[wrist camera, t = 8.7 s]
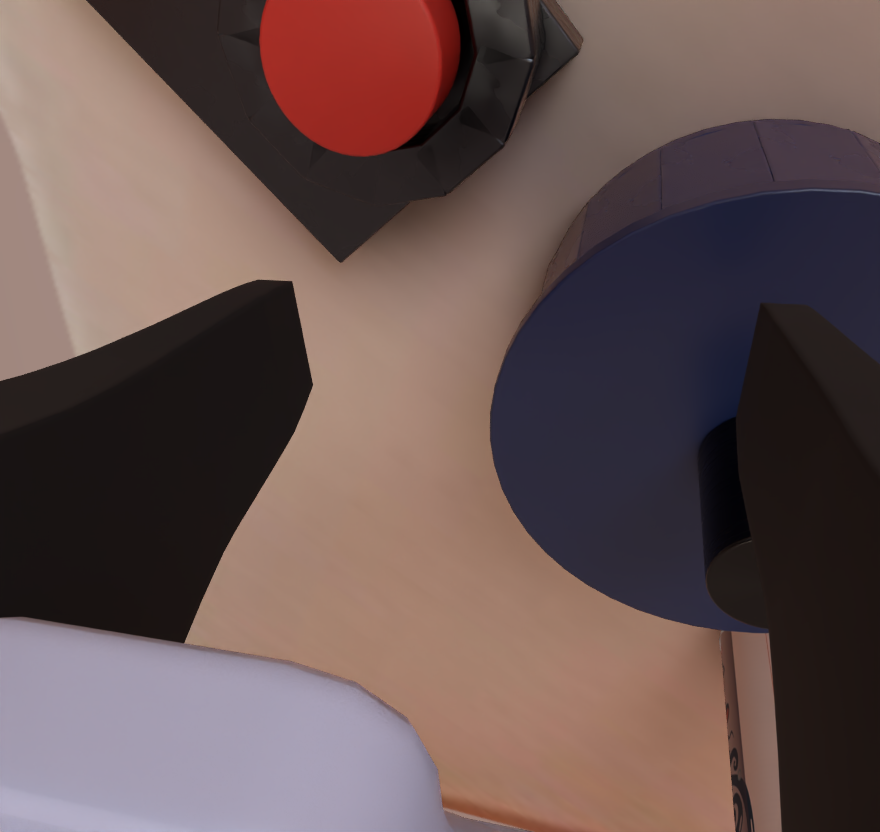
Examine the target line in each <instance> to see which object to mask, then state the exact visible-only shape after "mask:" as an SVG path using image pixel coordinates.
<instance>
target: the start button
mask: <svg viewBox="0 0 880 832" xmlns="http://www.w3.org/2000/svg"><path fill="white" fill-rule="evenodd" d="M259 41H260V55H261V61H262V67H263V70H264V74H265V78H266V81H267V83H268V86H269V88H270V91H271V93H272V95H273V97H274V99H275V100H276V102H277V104H278V106H279V107H280V109H281V110H282V112H283V113H284V114H285V116H286V117H287V118H288V119H289V121H290V122H291V123H292V124H293V125H294V126H295V127H296V128H297V129H298V130H299V131H300V132H301V133H303V134H304V135H305V136H306V137H308V138H309V139H310V140H312V141H313V142H315V143H317V144H318V145H320V146H322V147H324V148H326V149H329V150H331V151H334V152H337V153H340V154H344V155H349V156H360V157H367V156H376V155H380V154H384V153H387V152H390V151H392V150H395V149H397V148H399V147H400V146H402V145H404V144H405V143H407V142H408V141H409V140H410V139H412V138H413V137H414V136H415V135H416V134H417V133H418V132H419V131H420V130H421V128H422V127H423V126H424V125H425V124H426V123H427V121H428V120H429V119H430V118H431V117H432V116H433V114H434V113H435V112H436V111H437V110H438V109H439V107H440V106H441V105H442V103H443V102H444V100H445V99H446V98H447V96H448V94H449V92H450V90H451V88H452V86H453V83H454V81H455V78H456V75H457V71H458V66H459V61H460V51H461V48H460V31H459V24H458V20H457V16H456V12H455V9H454V6H453V4H452V1H451V0H266V3H265V7H264V10H263V13H262V19H261V25H260V39H259Z"/></svg>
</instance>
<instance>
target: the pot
mask: <svg viewBox="0 0 880 832" xmlns="http://www.w3.org/2000/svg"><path fill="white" fill-rule="evenodd" d="M803 179H819V180H844V181H859V182H865V183H872V184H878V185H880V143H878V142H876V141H874V140H872V139H870V138H867V137H865V136H863V135H861V134H859V133H856V132H854V131H850V130H849V129H842V128H839V127H836V126H833V125H829V124H822V123H816V122H809V121H803V120H783V119H764V120H754V121H744V122H735V123H731V124H726V125H722V126H717V127H713V128H709V129H704V130H702V131H699V132H696V133H693V134H690V135H688V136H685V137H682V138H679V139H676V140H674V141H672V142H670V143H668V144H666V145H664V146H662V147H660V148H658V149H656V150H654V151H652V152H650V153H648V154H646V155H645V156H643V157H642V158H640V159H639V160H637V161H636V162H634V163H633V164H631V165H630V166H628V167H627V168H625V169H624V170H622V171H621V172H620V173H619V174H618V175H616V176H615V177H614V178H613V179H612V180H611V181H609V182H608V183H607V184H606V185H605V186H603V187H602V188H601V189H600V190H599V192H598V193H597V194H596V195H595V196H594V197H593V198H591V199H590V201H589V202H588V203H587V204H586V206H585V207H584V208H583V209H582V211H581V212H580V214H579V215H578V216H577V218H576V219H575V221H574V222H573V224H572V225H571V226H570V228H569V229H568V231H567V233H566V235H565V237H564V239H563V241H562V243H561V245H560V247H559V249H558V251H557V253H556V254H555V256H554V258H553V259H552V261H551V263H550V264H549V268H548V270H547V274H546V278H545V282H544V286H543V290H542V293H543V292H544V291H545V290H546V289H547V288H548V287H549V286H550V285H551V284H552V283H553V282H554V281H555V280H556V278H557V277H558V276H559V275H560V274H561V273H562V272H563V271H564V270H565V269H566V268H568V267H569V266H570V265H571V264H573V263H574V262H575V261H576V260H578V259H579V258H580V257H581V256H583V255H584V254H585V253H586V252H588V251H589V250H590V249H591V248H593V247H594V246H595V245H597V244H598V243H600V242H602V241H603V240H605V239H607V238H608V237H610V236H612V235H613V234H615V233H617V232H618V231H620V230H621V229H623V228H625V227H626V226H628V225H630V224H632V223H634V222H636V221H638V220H640V219H643V218H645V217H647V216H649V215H651V214H654V213H656V212H658V211H660V210H662V209H665V208H667V207H669V206H672V205H675V204H678V203H681V202H684V201H687V200H690V199H694V198H697V197H700V196H703V195H706V194H709V193H712V192H716V191H722V190H727V189H732V188H737V187H742V186H747V185H752V184H757V183H765V182H778V181H790V180H803ZM542 293H541V294H542Z"/></svg>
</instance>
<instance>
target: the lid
mask: <svg viewBox="0 0 880 832" xmlns="http://www.w3.org/2000/svg"><path fill="white" fill-rule="evenodd" d="M760 303H779V304H801V305H808V306H809V307H811V308H812V309H814V310H815V311H816V312H818V313H819V314H820V315H821V316H823V317H824V318H825V319H826V320H828V321H829V322H830V323H831V324H832V325H834V326H835V327H836V328H837V329H838V330H839V331H841V332H842V333H843V334H844V335H845V336H846V337H848V338H849V339H850V340H851V341H852V342H854V343H855V344H856V345H857V346H858V347H860V348H861V349H862V350H863V351H864V352H866V353H867V354H868V355H869V356H870V357H872V358H873V359H874V360H875V361H877V362H878V363H879V364H880V185H878V184H872V183H865V182H859V181H844V180H819V179H803V180H790V181H778V182H765V183H757V184H752V185H747V186H742V187H737V188H732V189H727V190H722V191H716V192H712V193H709V194H706V195H703V196H700V197H697V198H694V199H690V200H687V201H684V202H681V203H678V204H675V205H672V206H669V207H667V208H665V209H662V210H660V211H658V212H656V213H654V214H651V215H649V216H647V217H645V218H643V219H640V220H638V221H636V222H634V223H632V224H630V225H628V226H626V227H625V228H623V229H621V230H620V231H618V232H617V233H615V234H613V235H612V236H610V237H608V238H607V239H605V240H603V241H602V242H600V243H598V244H597V245H595V246H594V247H593V248H591V249H590V250H589V251H588V252H586V253H585V254H584V255H583V256H581V257H580V258H579V259H578V260H576V261H575V262H574V263H573V264H571V265H570V266H569V267H568V268H566V269H565V270H564V271H563V272H562V273H561V274H560V275H559V276H558V277H557V278H556V280H555V281H554V282H553V283H552V284H551V285H550V286H549V287H548V288H547V289H546V290H545V291H544V292H543V293H542V294H541V295H540V297H539V298H538V299H537V301H536V302H535V303H534V305H533V306H532V308H531V309H530V310H529V312H528V313H527V314H526V316H525V317H524V319H523V320H522V321H521V323H520V325H519V327H518V329H517V331H516V333H515V335H514V336H513V338H512V340H511V342H510V344H509V346H508V348H507V350H506V353H505V356H504V359H503V362H502V365H501V368H500V371H499V374H498V377H497V380H496V383H495V387H494V393H493V399H492V405H491V411H490V442H491V448H492V455H493V461H494V466H495V469H496V472H497V475H498V478H499V481H500V484H501V487H502V490H503V492H504V494H505V496H506V498H507V500H508V502H509V504H510V506H511V508H512V510H513V512H514V513H515V515H516V516H517V518H518V519H519V521H520V522H521V524H522V525H523V526H524V528H525V529H526V531H527V532H528V534H529V535H530V536H531V537H532V538H533V539H534V540H535V541H536V542H537V544H538V545H539V546H540V547H541V548H542V549H543V550H544V551H545V552H546V553H547V554H548V555H549V556H550V557H551V558H553V559H554V560H555V561H556V562H557V563H558V564H559V565H561V566H562V567H563V568H564V569H565V570H567V571H568V572H569V573H571V574H572V575H574V576H575V577H577V578H578V579H580V580H581V581H582V582H584V583H585V584H587V585H588V586H590V587H592V588H594V589H596V590H597V591H599V592H601V593H603V594H605V595H606V596H608V597H610V598H612V599H614V600H617V601H619V602H621V603H623V604H626V605H628V606H630V607H633V608H635V609H637V610H640V611H643V612H646V613H649V614H652V615H655V616H658V617H661V618H664V619H668V620H672V621H676V622H680V623H684V624H688V625H692V626H697V627H704V628H710V629H716V630H723V631H733V632H746V633H769V629H768V621H767V615H766V608H765V602H764V596H763V591H762V586H761V581H760V576H759V572H758V567H757V562H756V557H755V552H754V548H753V543H752V538H751V533H750V528H749V523H748V519H747V514H746V509H745V504H744V499H743V494H742V489H741V483H740V478H739V472H738V455H737V434H736V415H737V410H738V406H739V401H740V396H741V392H742V387H743V382H744V378H745V373H746V368H747V364H748V359H749V354H750V350H751V345H752V341H753V336H754V331H755V327H756V322H757V317H758V313H759V308H760Z"/></svg>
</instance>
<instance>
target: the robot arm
mask: <svg viewBox="0 0 880 832" xmlns="http://www.w3.org/2000/svg"><path fill="white" fill-rule="evenodd" d="M312 386H313V383H312V378H311V373H310V368H309V363H308V358H307V353H306V348H305V343H304V338H303V333H302V328H301V323H300V318H299V313H298V308H297V303H296V298H295V293H294V288H293V283H292V281H274V280H256V281H252V282H249V283H246V284H243V285H240V286H238V287H235V288H232V289H230V290H228V291H225V292H223V293H221V294H219V295H216V296H214V297H212V298H210V299H208V300H205V301H203V302H201V303H199V304H197V305H195V306H192V307H190V308H188V309H186V310H184V311H182V312H180V313H178V314H175V315H173V316H171V317H169V318H167V319H165V320H163V321H160V322H158V323H156V324H154V325H152V326H149V327H147V328H145V329H142V330H140V331H138V332H135V333H133V334H131V335H128V336H126V337H124V338H121V339H119V340H117V341H115V342H112V343H110V344H108V345H105V346H103V347H101V348H98V349H96V350H93V351H91V352H88V353H85V354H83V355H80V356H77V357H75V358H72V359H69V360H67V361H64V362H61V363H58V364H55V365H52V366H49V367H46V368H43V369H40V370H37V371H34V372H31V373H27V374H24V375H21V376H18V377H14V378H10V379H6V380H3V381H0V832H532V831H527V830H522V829H517V828H512V827H507V826H502V825H497V824H492V823H487V822H482V821H477V820H472V819H468V818H464V817H461V816H458V815H455V814H453V813H450V812H447V811H444V810H443V806H442V798H441V790H440V783H439V775H438V769H437V767H436V766H435V764H434V762H433V761H432V759H431V757H430V755H429V754H428V752H427V750H426V748H425V747H424V745H423V743H422V741H421V740H420V738H419V736H418V734H417V733H416V731H415V729H414V728H413V726H412V725H411V723H410V722H409V720H408V719H407V717H405V716H404V715H403V714H401V713H400V712H398V711H397V710H395V709H394V708H392V707H391V706H390V705H388V704H387V703H385V702H384V701H382V700H381V699H380V698H378V697H377V696H375V695H374V694H372V693H371V692H369V691H368V690H367V689H365V688H364V687H362V686H361V685H359V684H358V683H356V682H354V681H351V680H348V679H345V678H342V677H339V676H336V675H333V674H329V673H326V672H323V671H320V670H317V669H314V668H311V667H308V666H305V665H302V664H299V663H295V662H292V661H287V660H281V659H275V658H269V657H263V656H257V655H251V654H245V653H239V652H233V651H226V650H220V649H214V648H208V647H202V646H196V645H190V644H184V642H185V640H186V637H187V635H188V632H189V630H190V628H191V625H192V623H193V620H194V618H195V616H196V613H197V611H198V608H199V606H200V603H201V601H202V599H203V597H204V594H205V592H206V590H207V588H208V586H209V583H210V581H211V579H212V577H213V575H214V572H215V570H216V568H217V566H218V564H219V561H220V559H221V557H222V555H223V553H224V551H225V549H226V547H227V545H228V543H229V542H230V540H231V538H232V536H233V534H234V532H235V531H236V529H237V527H238V526H239V524H240V522H241V521H242V519H243V517H244V516H245V514H246V512H247V511H248V509H249V507H250V506H251V504H252V502H253V501H254V499H255V498H256V496H257V494H258V493H259V491H260V489H261V488H262V486H263V484H264V483H265V481H266V479H267V478H268V476H269V474H270V473H271V471H272V470H273V468H274V466H275V464H276V463H277V461H278V459H279V458H280V456H281V454H282V453H283V451H284V449H285V448H286V446H287V444H288V442H289V441H290V439H291V437H292V435H293V434H294V432H295V429H296V427H297V425H298V422H299V420H300V418H301V415H302V413H303V410H304V408H305V405H306V402H307V400H308V397H309V394H310V392H311V389H312ZM736 434H737V455H738V472H739V478H740V483H741V489H742V494H743V499H744V504H745V509H746V514H747V519H748V523H749V528H750V533H751V538H752V543H753V548H754V552H755V557H756V562H757V567H758V572H759V576H760V581H761V586H762V591H763V596H764V602H765V608H766V615H767V621H768V629H769V641H770V653H771V665H772V677H773V689H774V704H775V719H776V734H777V749H778V767H779V787H780V808H781V828H782V832H880V364H879V363H878V362H877V361H875V360H874V359H873V358H872V357H870V356H869V355H868V354H867V353H866V352H864V351H863V350H862V349H861V348H860V347H858V346H857V345H856V344H855V343H854V342H852V341H851V340H850V339H849V338H848V337H846V336H845V335H844V334H843V333H842V332H841V331H839V330H838V329H837V328H836V327H835V326H834V325H832V324H831V323H830V322H829V321H828V320H826V319H825V318H824V317H823V316H821V315H820V314H819V313H818V312H816V311H815V310H814V309H812V308H811V307H809V306H808V305H801V304H779V303H760V308H759V313H758V317H757V322H756V327H755V331H754V336H753V341H752V345H751V350H750V354H749V359H748V364H747V368H746V373H745V378H744V382H743V387H742V392H741V396H740V401H739V406H738V410H737V415H736Z"/></svg>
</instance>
